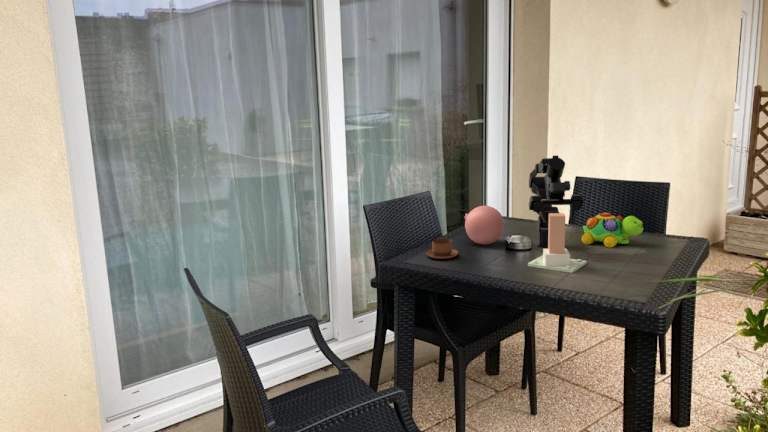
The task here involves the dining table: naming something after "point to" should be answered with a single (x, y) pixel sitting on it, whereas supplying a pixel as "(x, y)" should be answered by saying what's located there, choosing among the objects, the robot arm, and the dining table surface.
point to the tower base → (558, 268)
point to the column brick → (556, 233)
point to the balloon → (484, 225)
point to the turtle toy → (611, 229)
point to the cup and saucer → (442, 249)
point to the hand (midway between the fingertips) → (558, 222)
